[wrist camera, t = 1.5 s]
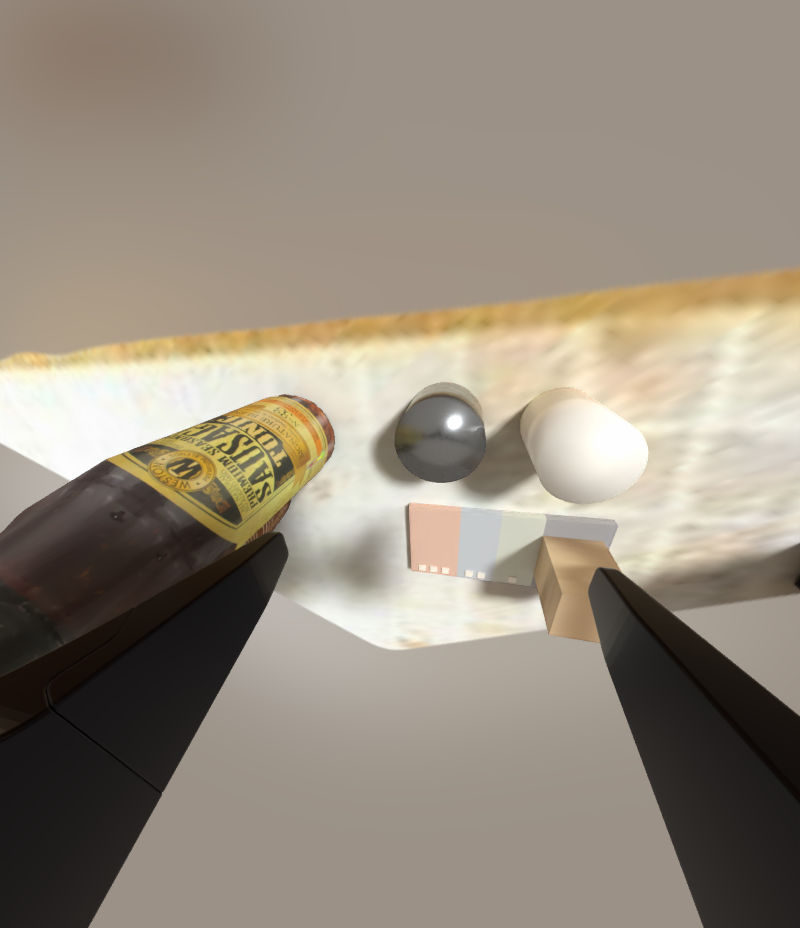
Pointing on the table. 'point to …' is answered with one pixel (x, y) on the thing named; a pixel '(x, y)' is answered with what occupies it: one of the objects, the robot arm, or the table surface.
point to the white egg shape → (581, 446)
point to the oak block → (569, 584)
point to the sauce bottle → (150, 521)
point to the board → (491, 540)
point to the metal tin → (441, 434)
